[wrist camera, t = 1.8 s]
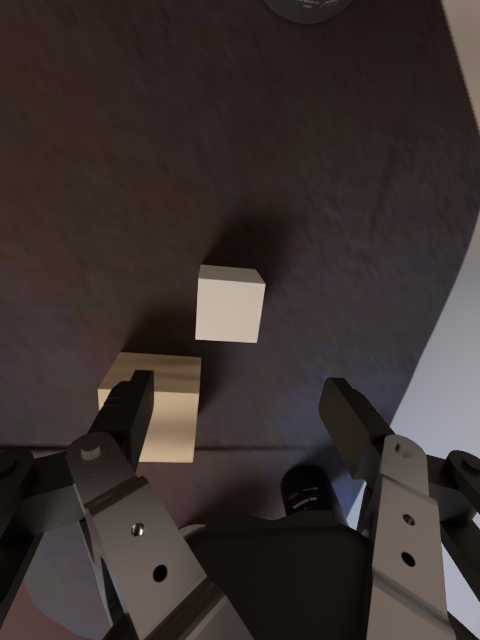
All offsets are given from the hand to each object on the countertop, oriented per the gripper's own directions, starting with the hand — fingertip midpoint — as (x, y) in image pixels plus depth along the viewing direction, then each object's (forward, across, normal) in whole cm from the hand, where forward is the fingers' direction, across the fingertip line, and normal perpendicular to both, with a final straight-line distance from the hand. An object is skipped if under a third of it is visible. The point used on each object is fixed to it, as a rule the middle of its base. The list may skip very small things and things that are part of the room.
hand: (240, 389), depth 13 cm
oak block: (+15, +6, +11) cm, 19 cm away
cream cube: (+14, 0, 0) cm, 14 cm away
